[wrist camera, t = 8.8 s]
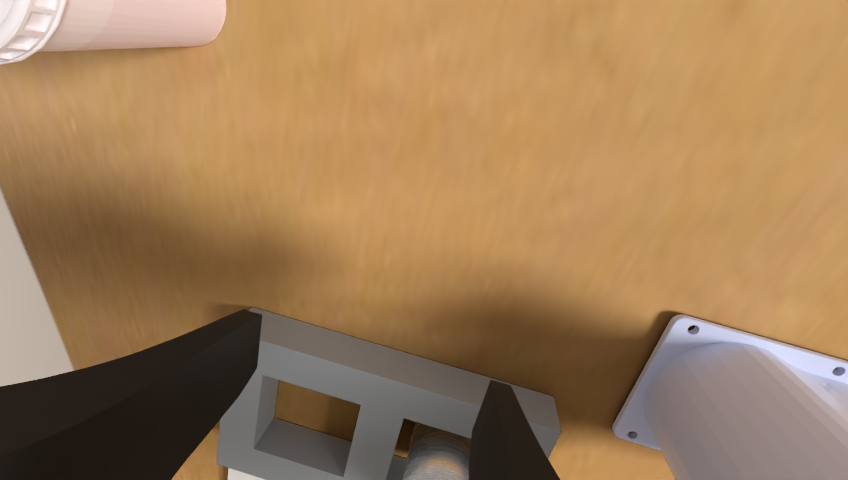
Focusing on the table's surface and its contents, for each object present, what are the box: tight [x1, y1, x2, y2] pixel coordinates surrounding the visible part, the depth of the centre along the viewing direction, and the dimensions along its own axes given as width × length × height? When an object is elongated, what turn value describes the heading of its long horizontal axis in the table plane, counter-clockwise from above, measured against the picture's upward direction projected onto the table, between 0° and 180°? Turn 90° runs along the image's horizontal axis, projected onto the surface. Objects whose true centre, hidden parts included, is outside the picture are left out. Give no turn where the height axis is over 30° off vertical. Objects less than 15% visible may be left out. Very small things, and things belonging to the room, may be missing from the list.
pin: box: [402, 422, 471, 480], centre depth 22 cm, size 4×4×6 cm
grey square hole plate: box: [217, 307, 561, 480], centre depth 24 cm, size 18×10×2 cm, turn 76°
